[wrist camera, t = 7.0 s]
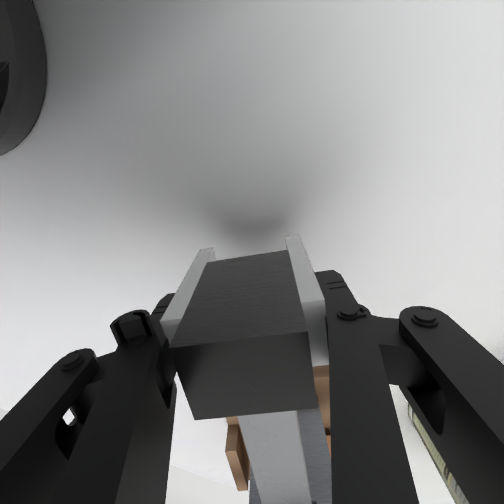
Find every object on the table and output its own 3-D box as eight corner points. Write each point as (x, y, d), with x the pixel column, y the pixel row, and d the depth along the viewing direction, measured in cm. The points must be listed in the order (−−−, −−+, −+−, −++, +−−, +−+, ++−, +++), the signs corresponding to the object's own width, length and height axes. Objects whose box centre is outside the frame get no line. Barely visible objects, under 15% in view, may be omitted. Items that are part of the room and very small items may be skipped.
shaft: (206, 262, 13) (168, 348, 8) (288, 249, 13) (307, 330, 8) (268, 496, 21) (270, 628, 15) (322, 492, 20) (345, 626, 15)
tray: (219, 375, 27) (212, 413, 23) (344, 361, 26) (358, 398, 22) (245, 465, 32) (243, 508, 28) (350, 457, 31) (363, 500, 27)
